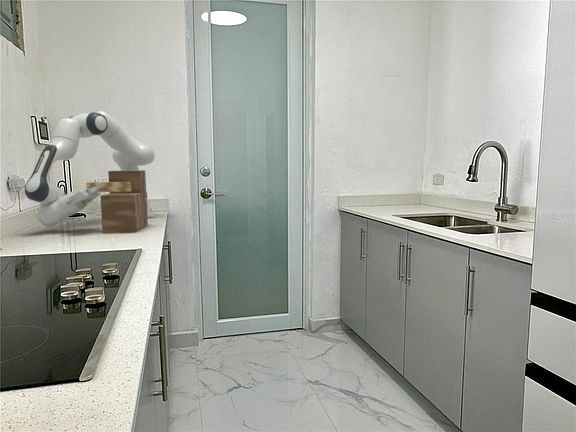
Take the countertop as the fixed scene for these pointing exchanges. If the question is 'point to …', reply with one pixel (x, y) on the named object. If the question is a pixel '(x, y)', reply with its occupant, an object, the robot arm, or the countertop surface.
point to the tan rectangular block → (110, 186)
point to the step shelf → (125, 204)
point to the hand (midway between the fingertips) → (101, 185)
